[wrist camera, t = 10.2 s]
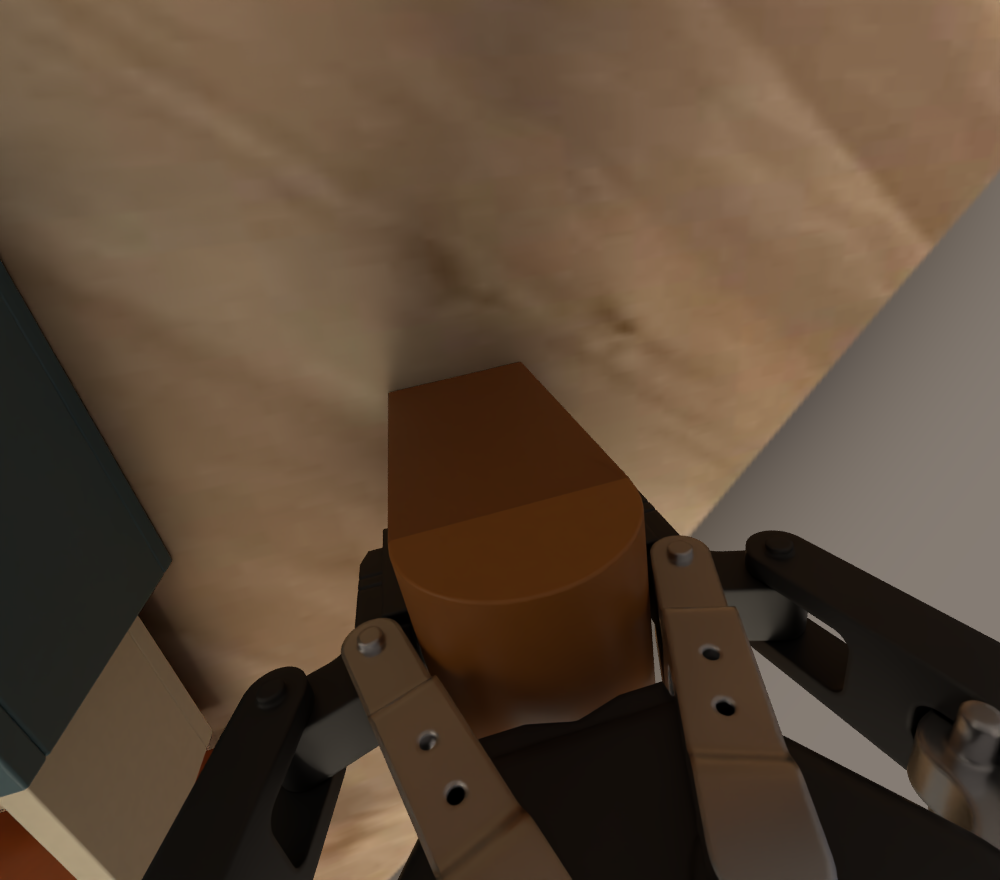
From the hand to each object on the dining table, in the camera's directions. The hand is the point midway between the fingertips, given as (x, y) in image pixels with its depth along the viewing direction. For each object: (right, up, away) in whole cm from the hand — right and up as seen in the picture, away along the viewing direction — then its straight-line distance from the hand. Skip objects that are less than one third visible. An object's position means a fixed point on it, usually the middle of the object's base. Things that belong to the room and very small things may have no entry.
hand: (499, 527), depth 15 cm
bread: (-1, +2, +5) cm, 6 cm away
